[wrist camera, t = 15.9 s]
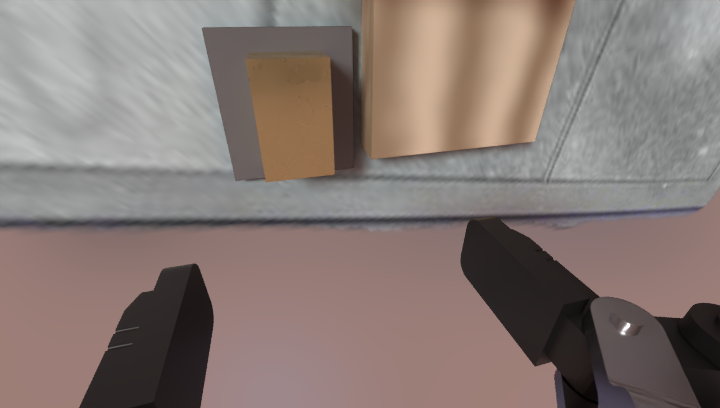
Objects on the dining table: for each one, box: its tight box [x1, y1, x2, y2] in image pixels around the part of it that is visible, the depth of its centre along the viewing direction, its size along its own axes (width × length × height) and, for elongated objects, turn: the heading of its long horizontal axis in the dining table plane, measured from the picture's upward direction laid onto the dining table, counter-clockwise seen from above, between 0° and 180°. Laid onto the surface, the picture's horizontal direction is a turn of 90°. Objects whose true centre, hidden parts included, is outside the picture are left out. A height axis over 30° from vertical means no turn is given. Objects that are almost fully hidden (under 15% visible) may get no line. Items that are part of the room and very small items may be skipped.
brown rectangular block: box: [246, 51, 335, 182], centre depth 23 cm, size 5×8×4 cm, turn 0°
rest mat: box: [202, 26, 354, 181], centre depth 25 cm, size 10×11×1 cm
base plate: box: [362, 0, 576, 159], centre depth 25 cm, size 16×16×3 cm
